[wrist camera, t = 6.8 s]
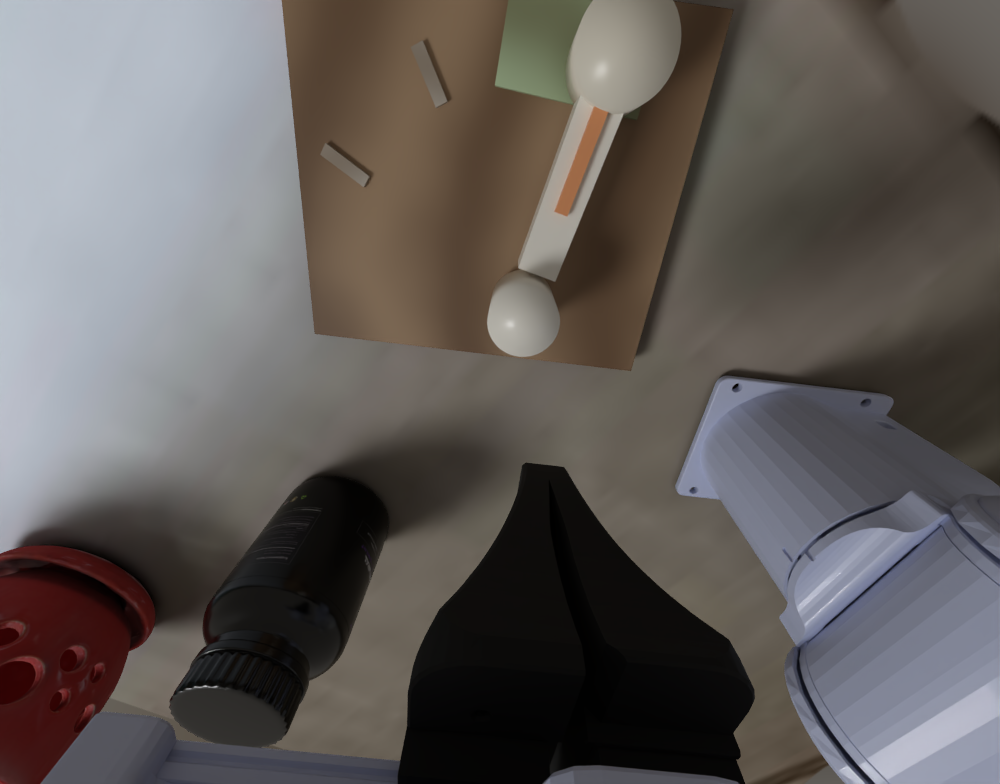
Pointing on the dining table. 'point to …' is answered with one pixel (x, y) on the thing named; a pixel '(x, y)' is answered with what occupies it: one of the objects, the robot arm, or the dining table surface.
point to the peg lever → (583, 154)
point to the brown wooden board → (476, 169)
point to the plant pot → (60, 650)
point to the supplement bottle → (283, 614)
